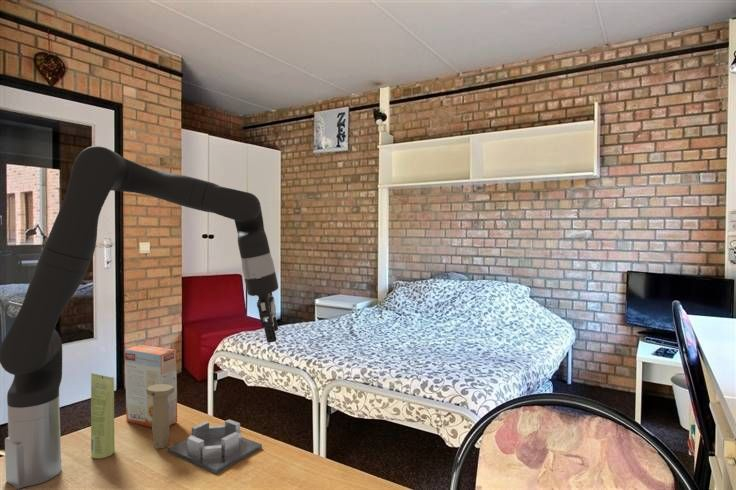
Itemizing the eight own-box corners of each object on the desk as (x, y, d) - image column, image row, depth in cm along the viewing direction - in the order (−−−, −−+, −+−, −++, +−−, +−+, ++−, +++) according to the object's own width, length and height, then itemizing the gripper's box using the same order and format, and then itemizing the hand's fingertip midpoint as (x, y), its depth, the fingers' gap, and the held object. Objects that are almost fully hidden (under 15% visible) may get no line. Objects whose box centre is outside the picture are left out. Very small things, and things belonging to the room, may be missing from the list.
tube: (119, 447, 114) (117, 370, 113) (115, 457, 110) (113, 377, 109) (93, 451, 112) (91, 372, 111) (88, 461, 108) (86, 379, 107)
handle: (165, 452, 112) (164, 392, 111) (143, 448, 113) (142, 389, 113) (178, 443, 116) (177, 385, 116) (157, 440, 118) (156, 383, 117)
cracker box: (178, 422, 129) (177, 349, 128) (161, 431, 123) (159, 354, 122) (143, 413, 134) (142, 343, 133) (125, 421, 129) (123, 348, 128)
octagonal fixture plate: (216, 474, 102) (215, 452, 102) (167, 452, 112) (167, 432, 112) (261, 448, 114) (261, 428, 114) (214, 430, 124) (213, 412, 123)
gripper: (247, 271, 118) (260, 330, 120) (240, 282, 104) (255, 349, 106) (276, 265, 119) (288, 324, 121) (273, 275, 105) (287, 342, 107)
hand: (273, 336), depth 114 cm, fingers open, 8 cm apart
